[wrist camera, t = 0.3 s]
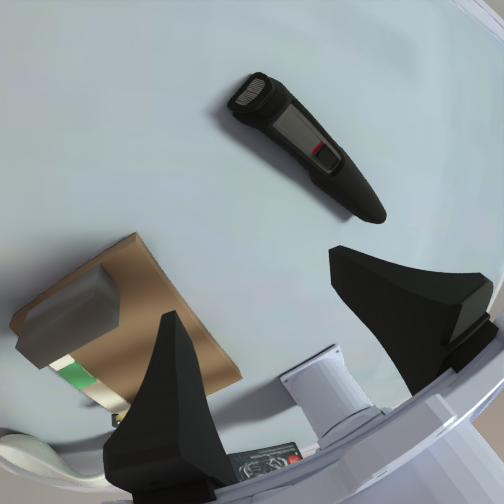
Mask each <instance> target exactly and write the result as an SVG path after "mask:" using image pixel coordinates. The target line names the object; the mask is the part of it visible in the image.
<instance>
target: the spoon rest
mask: <svg viewBox="0 0 504 504" xmlns="http://www.w3.org/2000/svg"><path fill="white" fill-rule="evenodd" d="M0 455H1V456H2V457H3V458H5V459H6V460H8V461H9V462H11V463H12V464H14V465H16V466H18V467H20V468H22V469H24V470H27V471H29V472H32V473H35V474H38V475H42V476H46V477H50V478H55V479H60V480H65V481H69V482H71V483H74V484H77V485H80V486H84V487H90V488H101V487H106V486H110V485H112V484H110V483H109V482H108V481H107V480H106V479H105V473H104V470H103V471H101V472H99V473H97V474H93V475H82V474H79V473H77V472H75V471H74V470H73V469H71V468H70V467H69V466H68V465H67V464H66V463H65V462H64V461H63V460H62V459H61V458H60V456H59V455H58V454H57V453H56V452H55V451H54V450H53V449H52V448H51V447H50V446H49V445H48V444H47V443H46V442H44V441H42V440H40V439H38V438H36V437H33V436H30V435H26V434H11V435H6V436H3V437H1V438H0Z"/></svg>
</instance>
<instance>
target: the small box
mask: <svg viewBox="0 0 504 504" xmlns="http://www.w3.org/2000/svg"><path fill="white" fill-rule="evenodd" d="M227 458H228V460H229V462H230V464H231V467H232V469H233V471H234V473H235V475H236V477H237V479H238V481H239V483H240V482H243V481H246V480H249V479H252V478H255V477H258V476H261V475H264V474H267V473H269V472H272V471H275V470H277V469H280V468H282V467H285V466H287V465H290V464H292V463H295V462H297V461H299V460H302V459H303V457H302V455H301V453H300V451H299V449H298V447H297V446H296V443H295V442H292V443H288V444H283V445H279V446H274V447H269V448H264V449H259V450H253V451H247V452H241V453H234V454H228V455H227ZM294 485H295V484H294ZM292 486H293V485H292Z"/></svg>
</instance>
